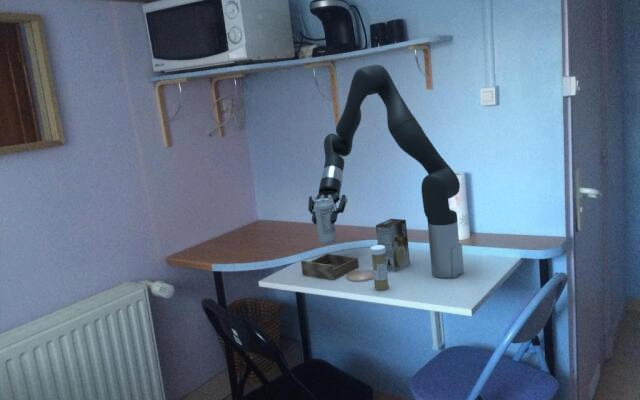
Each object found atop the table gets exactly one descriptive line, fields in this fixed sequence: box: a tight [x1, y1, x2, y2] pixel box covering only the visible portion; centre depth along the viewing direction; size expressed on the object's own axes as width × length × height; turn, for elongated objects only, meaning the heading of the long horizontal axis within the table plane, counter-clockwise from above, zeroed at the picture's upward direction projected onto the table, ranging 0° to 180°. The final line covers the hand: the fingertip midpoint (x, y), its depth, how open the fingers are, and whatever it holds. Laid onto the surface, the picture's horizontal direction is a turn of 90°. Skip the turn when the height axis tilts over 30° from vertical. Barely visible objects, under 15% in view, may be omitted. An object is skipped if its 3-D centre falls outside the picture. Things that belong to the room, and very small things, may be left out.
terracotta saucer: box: [345, 269, 374, 283], centre depth 185 cm, size 10×10×1 cm
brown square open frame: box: [300, 253, 360, 281], centre depth 194 cm, size 14×14×5 cm
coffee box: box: [375, 218, 411, 273], centre depth 189 cm, size 9×6×16 cm
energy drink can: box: [314, 198, 337, 245], centre depth 191 cm, size 6×6×15 cm
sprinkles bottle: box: [370, 244, 390, 291], centre depth 171 cm, size 5×5×13 cm
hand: (323, 222), depth 189 cm, fingers closed on energy drink can, 6 cm apart
